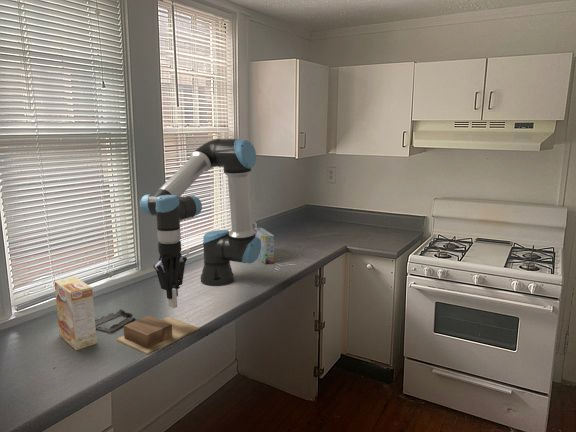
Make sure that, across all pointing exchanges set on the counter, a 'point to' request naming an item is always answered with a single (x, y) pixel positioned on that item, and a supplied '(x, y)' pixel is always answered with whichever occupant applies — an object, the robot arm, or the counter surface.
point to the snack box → (265, 245)
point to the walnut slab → (148, 331)
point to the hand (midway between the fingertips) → (173, 306)
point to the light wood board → (178, 332)
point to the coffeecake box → (75, 312)
